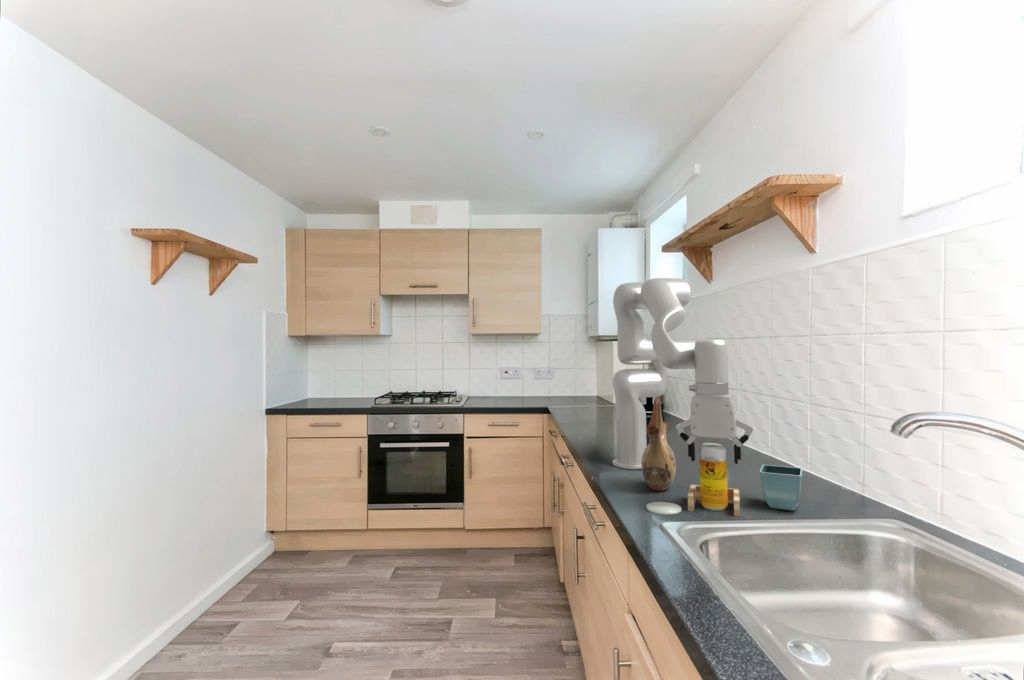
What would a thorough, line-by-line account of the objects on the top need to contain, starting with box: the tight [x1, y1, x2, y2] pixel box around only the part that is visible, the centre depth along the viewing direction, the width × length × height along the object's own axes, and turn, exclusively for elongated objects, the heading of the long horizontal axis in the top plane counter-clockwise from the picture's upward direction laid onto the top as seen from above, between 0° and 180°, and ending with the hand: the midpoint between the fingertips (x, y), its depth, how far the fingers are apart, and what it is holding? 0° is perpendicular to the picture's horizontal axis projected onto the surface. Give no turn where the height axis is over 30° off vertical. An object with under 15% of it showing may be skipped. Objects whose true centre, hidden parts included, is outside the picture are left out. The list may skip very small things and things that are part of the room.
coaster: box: [646, 501, 682, 516], centre depth 119 cm, size 8×8×1 cm
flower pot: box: [759, 464, 803, 511], centre depth 120 cm, size 9×9×9 cm
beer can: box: [698, 442, 729, 512], centre depth 120 cm, size 6×6×15 cm
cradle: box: [687, 484, 741, 517], centre depth 120 cm, size 11×11×4 cm
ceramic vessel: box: [641, 397, 677, 492], centre depth 136 cm, size 16×9×25 cm, turn 154°
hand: (714, 461), depth 120 cm, fingers open, 9 cm apart
